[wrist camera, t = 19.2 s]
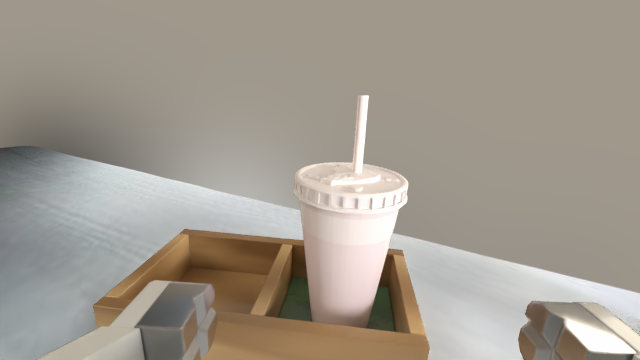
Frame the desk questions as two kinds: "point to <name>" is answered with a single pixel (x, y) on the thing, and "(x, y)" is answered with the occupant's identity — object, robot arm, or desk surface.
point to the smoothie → (347, 230)
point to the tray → (276, 301)
